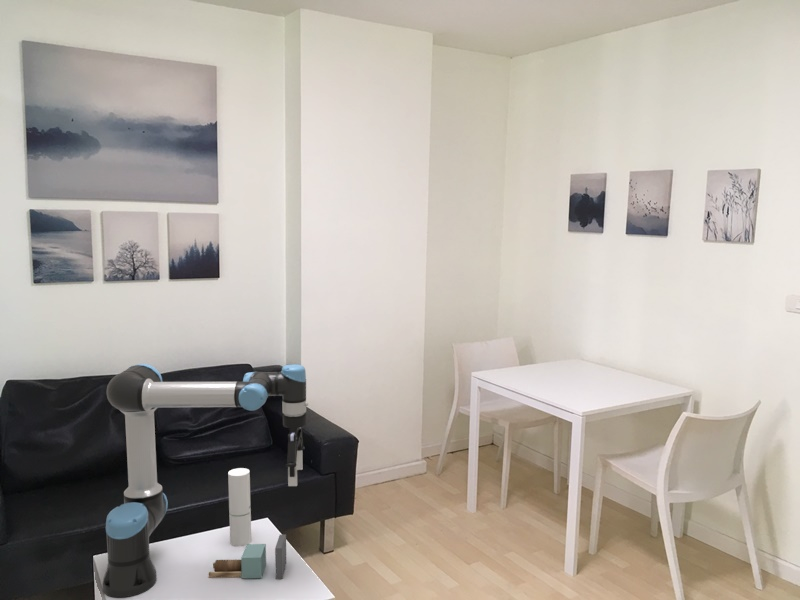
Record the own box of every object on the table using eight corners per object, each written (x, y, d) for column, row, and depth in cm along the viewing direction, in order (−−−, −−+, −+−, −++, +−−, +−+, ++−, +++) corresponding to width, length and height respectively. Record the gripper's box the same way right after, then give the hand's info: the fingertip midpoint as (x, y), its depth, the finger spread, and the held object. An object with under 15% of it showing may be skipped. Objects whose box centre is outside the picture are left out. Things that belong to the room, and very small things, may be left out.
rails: (208, 577, 200) (208, 573, 200) (213, 566, 207) (213, 562, 207) (240, 577, 201) (240, 572, 201) (245, 566, 207) (245, 562, 207)
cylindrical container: (254, 536, 227) (252, 468, 224) (247, 546, 220) (245, 476, 217) (234, 535, 228) (232, 467, 225) (227, 545, 220) (224, 475, 218)
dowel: (214, 576, 202) (214, 564, 201) (217, 569, 206) (217, 557, 205) (240, 575, 202) (239, 563, 201) (242, 569, 206) (242, 557, 205)
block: (241, 578, 200) (241, 557, 199) (247, 563, 208) (246, 544, 207) (261, 577, 200) (260, 557, 199) (266, 563, 208) (265, 543, 208)
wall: (275, 579, 200) (275, 548, 199) (280, 563, 209) (279, 534, 208) (282, 578, 200) (281, 548, 199) (286, 563, 209) (285, 534, 208)
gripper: (301, 425, 194) (302, 493, 196) (310, 402, 219) (311, 463, 221) (276, 425, 194) (277, 493, 196) (288, 402, 218) (289, 463, 221)
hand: (295, 477), depth 208 cm, fingers open, 13 cm apart
